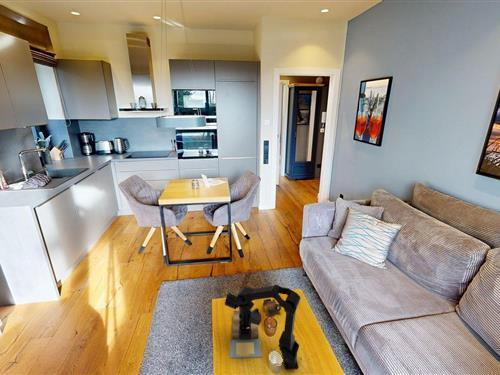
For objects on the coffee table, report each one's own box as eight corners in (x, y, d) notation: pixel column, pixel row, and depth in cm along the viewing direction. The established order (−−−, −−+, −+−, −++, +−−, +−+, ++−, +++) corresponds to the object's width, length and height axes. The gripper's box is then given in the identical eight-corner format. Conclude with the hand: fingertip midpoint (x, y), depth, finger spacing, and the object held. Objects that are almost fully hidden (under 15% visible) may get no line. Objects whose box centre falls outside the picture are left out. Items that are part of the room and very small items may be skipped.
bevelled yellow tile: (253, 342, 127) (253, 345, 128) (236, 342, 127) (236, 345, 128) (254, 353, 122) (254, 356, 122) (236, 353, 122) (236, 356, 122)
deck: (258, 339, 132) (258, 333, 130) (232, 340, 131) (232, 334, 130) (256, 315, 147) (256, 310, 146) (233, 316, 147) (233, 310, 145)
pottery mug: (261, 316, 147) (259, 301, 148) (266, 311, 155) (265, 298, 157) (280, 317, 142) (278, 302, 144) (284, 312, 151) (283, 298, 152)
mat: (261, 357, 122) (261, 356, 122) (229, 358, 122) (229, 357, 122) (260, 339, 132) (260, 338, 132) (230, 340, 131) (230, 339, 131)
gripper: (261, 326, 116) (261, 350, 120) (259, 297, 133) (259, 319, 138) (238, 326, 115) (239, 351, 120) (239, 297, 133) (239, 319, 138)
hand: (245, 334), depth 129 cm, fingers closed
